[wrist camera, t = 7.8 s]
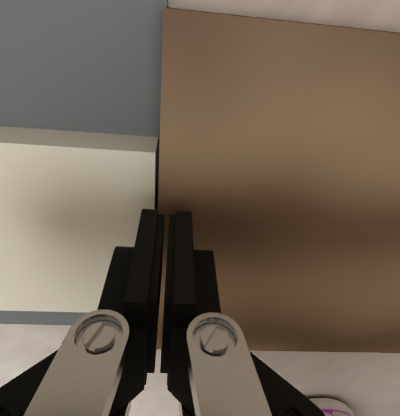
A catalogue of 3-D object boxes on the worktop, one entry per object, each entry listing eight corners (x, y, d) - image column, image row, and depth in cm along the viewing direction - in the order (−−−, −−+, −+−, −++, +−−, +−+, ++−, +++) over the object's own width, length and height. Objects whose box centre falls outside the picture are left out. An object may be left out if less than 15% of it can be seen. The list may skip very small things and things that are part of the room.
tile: (155, 289, 16) (152, 314, 15) (9, 285, 16) (-6, 310, 14) (158, 137, 12) (155, 152, 11) (-42, 123, 11) (-70, 138, 10)
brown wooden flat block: (429, 314, 19) (460, 353, 17) (157, 307, 18) (153, 348, 15) (612, 56, 12) (708, 67, 9) (167, 7, 10) (163, 8, 8)
